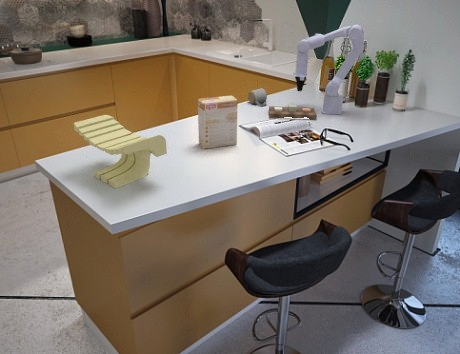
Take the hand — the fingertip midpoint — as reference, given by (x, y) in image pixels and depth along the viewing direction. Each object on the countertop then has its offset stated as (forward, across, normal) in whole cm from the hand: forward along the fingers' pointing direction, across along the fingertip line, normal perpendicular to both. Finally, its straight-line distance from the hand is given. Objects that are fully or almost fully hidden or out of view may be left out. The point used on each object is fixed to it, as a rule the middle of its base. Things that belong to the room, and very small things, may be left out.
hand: (299, 90), depth 224 cm
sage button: (+7, +12, -4) cm, 15 cm away
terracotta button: (+9, +12, +3) cm, 15 cm away
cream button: (+9, +12, -11) cm, 19 cm away
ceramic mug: (+10, -6, -21) cm, 24 cm away
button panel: (+9, +12, -4) cm, 16 cm away
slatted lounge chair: (+10, +87, -69) cm, 111 cm away
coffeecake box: (+10, +54, -38) cm, 67 cm away
